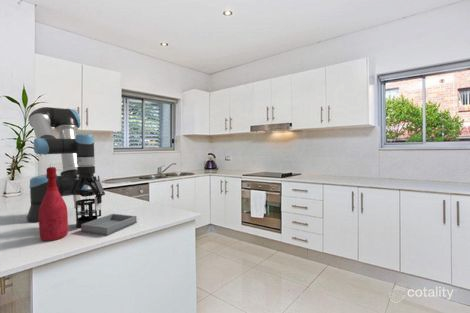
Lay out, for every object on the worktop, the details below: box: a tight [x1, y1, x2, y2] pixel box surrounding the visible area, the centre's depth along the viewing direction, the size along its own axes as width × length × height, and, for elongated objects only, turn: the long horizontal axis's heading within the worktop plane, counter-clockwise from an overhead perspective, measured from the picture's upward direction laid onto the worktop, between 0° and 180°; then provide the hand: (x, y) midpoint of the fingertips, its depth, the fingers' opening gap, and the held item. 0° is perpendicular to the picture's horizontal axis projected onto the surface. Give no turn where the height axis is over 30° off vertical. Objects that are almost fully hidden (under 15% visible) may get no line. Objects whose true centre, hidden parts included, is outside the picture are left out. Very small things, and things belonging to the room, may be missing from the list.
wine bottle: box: [38, 166, 69, 242], centre depth 104 cm, size 10×10×30 cm
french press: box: [75, 178, 102, 229], centre depth 121 cm, size 12×9×23 cm
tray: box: [80, 213, 138, 237], centre depth 117 cm, size 15×18×4 cm
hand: (87, 208), depth 121 cm, fingers open, 13 cm apart
